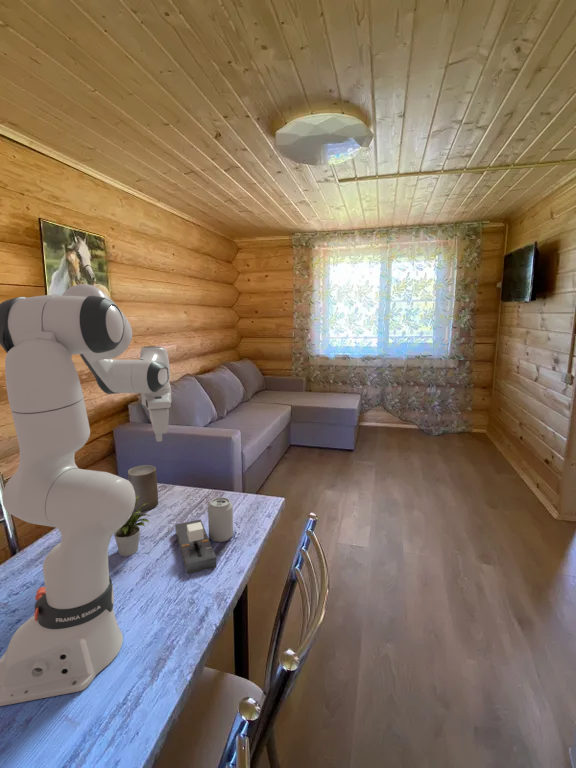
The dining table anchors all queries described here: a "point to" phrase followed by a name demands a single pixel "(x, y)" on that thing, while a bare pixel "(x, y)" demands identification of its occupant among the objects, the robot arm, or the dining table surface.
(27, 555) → the dining table surface
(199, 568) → the fader panel
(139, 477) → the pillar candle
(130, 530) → the house plant
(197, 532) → the fader knob
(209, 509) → the can
